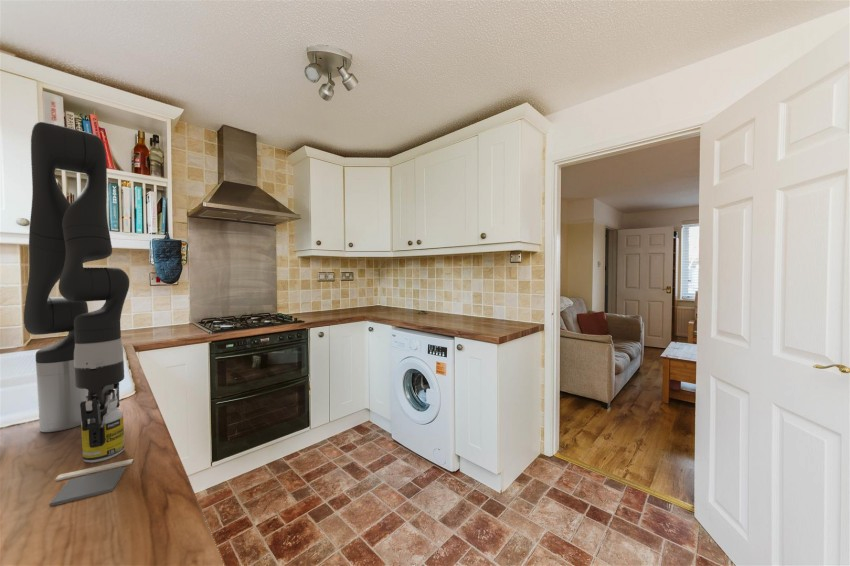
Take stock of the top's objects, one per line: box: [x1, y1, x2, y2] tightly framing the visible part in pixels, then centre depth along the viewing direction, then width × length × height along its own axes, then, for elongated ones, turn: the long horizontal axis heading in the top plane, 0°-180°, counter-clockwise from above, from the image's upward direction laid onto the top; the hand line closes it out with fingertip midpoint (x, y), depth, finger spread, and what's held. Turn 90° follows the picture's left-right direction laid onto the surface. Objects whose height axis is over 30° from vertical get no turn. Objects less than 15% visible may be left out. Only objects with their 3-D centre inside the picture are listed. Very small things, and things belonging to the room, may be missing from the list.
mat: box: [49, 466, 126, 507], centre depth 62 cm, size 8×8×1 cm
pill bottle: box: [80, 398, 125, 463], centre depth 72 cm, size 6×6×12 cm
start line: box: [54, 458, 134, 482], centre depth 67 cm, size 2×11×1 cm, turn 119°
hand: (103, 438), depth 72 cm, fingers closed on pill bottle, 6 cm apart
